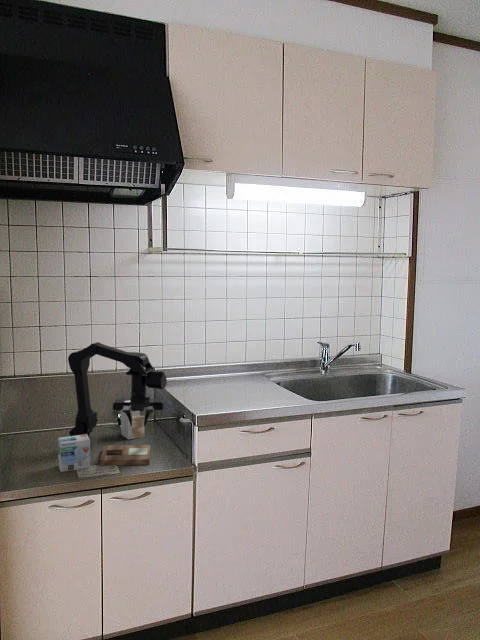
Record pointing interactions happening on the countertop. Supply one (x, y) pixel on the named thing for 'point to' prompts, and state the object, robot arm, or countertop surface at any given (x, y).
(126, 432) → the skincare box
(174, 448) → the countertop surface
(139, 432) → the maple block
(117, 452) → the pocket board
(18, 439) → the countertop surface
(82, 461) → the light bulb box
